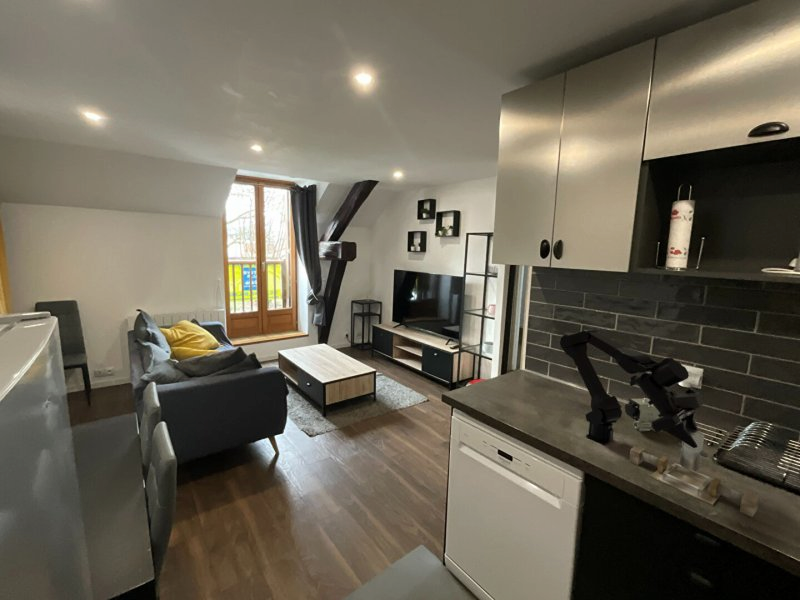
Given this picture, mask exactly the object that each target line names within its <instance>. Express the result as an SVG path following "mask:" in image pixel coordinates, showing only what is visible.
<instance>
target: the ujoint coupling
mask: <svg viewBox="0 0 800 600" xmlns="http://www.w3.org/2000/svg"><path fill="white" fill-rule="evenodd" d="M687 430H688V432H689V433H690V435H691V436H692V438H693V439H694V441H695V442H696V444H697V446H698V447H696V448H693V447H691V446H689V445H688V444H686V443H685V442H683V441H681V442H678V443H677V447H679V448H680V456H679V463H678V464H679V465H681V466H682V467H684V468H686V469H688V470H692V471H696V472H699V471H700V467H701V462H702V457H704V458H708V457H709V453H707V452H705V451H703V449H704V448H703V447H704V441H705V434H704V433H703V432H701V431H700V430H699V431H697V430H693V429H687Z"/></svg>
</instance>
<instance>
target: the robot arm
mask: <svg viewBox="0 0 800 600" xmlns="http://www.w3.org/2000/svg"><path fill="white" fill-rule="evenodd" d="M588 344H590V345H592V346H593V347H595V348H596V349H598V350H599V351H601V352H603V353H604V354H606V355H607V356H609V357H611V358H612V359H614V360H615V361H616V363H617V365H618V367H620V368H621V369H622V370H623V371H625V372H626V373H628V374H630V375H633V376H631V377H630V383H629V386H630V387H633V386H634V385H635V386H636V385H637V386H638V388H640V390H641V391H642V392H643V394H644V395H645V397H646V398H648V399H649V400H650V401H649V402H648V403H649V405H652V404H653V405H654V406H655V408H656V409H657V410H658V411H659V413H660V414H659V415H658V416H659V418H657V419H655V420H651V428H652V429H653V431H655V433H659V432H661V431H663V432H666V433H668V434H670V435H671V436H674V437H675V438H676V439H678V440H679V441H681V442H682V441H683V442H685V443H686V444H688V445H689V446H691V447H693V448H696V447H698V446H697V444H696V442H695V441H694V439H693V438H692V436H691V435H690V433H689V432H688V430H687V429H693V430H697V431H699V432H700V430H699V427H698V426H697V423H696V420H695V419H696V415H697V411H696V410H698V409H699V408H701V406H704V402H703V400H702V398H703V397H704V396H703V395H702V394H701V392H700V391H698V390H696V389H695V388H694V387H690V388H687V389H686V390H685V392H683V393H676V392H675V391H674V390H672V389H671V390H669V389H668V388H670V387H673V386H675V385H677V384H679V383H681V382H683V381H686V380H687V379H689V376H690V375H689V371H688V369H687V368H686V366H683V364H681V363H680V362H678V361H676V360H674V358H673V357H671V356H670V357H666V358H664V359H663V360H662V361H656V360H654V359H652V358H651V357H650V356H649V355H648V354H646V353H644V352H641V351H638V350H635V349H630V348H628V347H627V348H626V347H625V346H623V345H621V344H619V343H617V342H616V341H614V340H612V339H611V338H609V337H607V336H605V335H603V334H602V333H600V332H598V330H596V329H594V328H593V329H584V330H581V331H580V332H576V333H569V334H564V335H562V336H561V337H560V340H559V345H560V347H561V349H562V351H563V352H564V353H565V354H566V355H567V356H568V357H569V358H571V359H572V360H573V362H574V365H575V366H576V369H577V370H578V372H579V375H580V377H581V379H582V380H583V383H584V385H585V387H586V389H587V391H588V394H589V395H590V397H591V398H590V409H591V411H589V412H588V413H585V419H586V421H587V422H588V423H589V425H588V433H587V434H585V438H588V439H589V440H592V441H595V442H597V443H598V444H601V445H603V446H605V445H607V444H609V443H610V442H612V441H613V440H614V431H615V430H614V428H613V425H614V424H615V423H617V421H618V420H620V419H621V417H622V414H623V411H622V408H623V407H622V405H621V404H620V403H619V401H618V398H617V397H616V395H609V394H608V393H607V392H606V390H605V388H604V385H603V384H602V382H601V380H600V378H599V376H598V374H597V373H596V371H595V368H594V366H593V363H592V362H591V359H590V358H589V357H588ZM648 372H651V373H648ZM640 373H641V374H640ZM634 374H640V375H634ZM692 411H694V412H692ZM691 412H692V413H691Z"/></svg>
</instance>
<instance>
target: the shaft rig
mask: <svg viewBox="0 0 800 600" xmlns="http://www.w3.org/2000/svg"><path fill="white" fill-rule="evenodd" d="M629 450H630V451H629V459H628V460H629V463H631V464H634V465H637V466H639V465H640V464H641V463H642V462H646V463H648V464H651V465H653V466H656V467H657V470H655V472H653V473H652V474H651V475H650V478H653V479H655V480H657V481H659V482H661V483H663V484H665V485H667V486H669V487H672V488H674V489H676V490H678V491H681V492H683V493H685V494H687V495H689V496H691V497H693V498H695V499H698V500H700V501H702V502H704V503H706V504H708V505H710V506H714V504H715V503H716V502H717V500H718V499H719V498H720V497H721V496H724V497H725V498H727V499H730V500H733V501H735V502H737V503H739V504H740V508H739V512H740V513H742V514H745V515H746V516H749V517H751V518H754V516H755V515H756V513H757V510H758V506H759V501H760V496H759V495H757V494H754V493H752V492H749V491H745V493H742V492H740V491H738V490H736V489H732V488H730V487H728V486H726V485H723V484H721V483H722V479H721V478H718V477H716V476H715V477H714V478H713V477H710V476H708V475H706V474H702V473H701V472H699V471H692V470H688V469H686V468H684V467H682V466H681V465H680V464H679V463H677V462H674V463H673V464H671V465H668V463H669V457H667V456H666V455H663V456H662V457H660V458H659V457H657V456H655V455H653V454H649V453H647V452H645V451H646V450H645V448H644V447H641V446H639V445H634V446H633V447H632V448H631V449H629Z"/></svg>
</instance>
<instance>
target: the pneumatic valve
mask: <svg viewBox="0 0 800 600" xmlns="http://www.w3.org/2000/svg"><path fill="white" fill-rule="evenodd" d="M649 401H650V400H649V399H648V397H643V398H629V399H628V401H627V403H625V405H624V411H625V414H626V415H627V416H628V417H630V418H632V419H633V420H634V421H633V422H632V423H633V428H635V429H636V430H638V431H639V432H651V428H652V426H651V424H652V422H651V421H654V420H655V419H657V418H659V416H658V415H659V414H660V413H659V411H658V410H657V409H656V408H655V406H654V405H653V404H652V405H649V403H648V402H649Z"/></svg>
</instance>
